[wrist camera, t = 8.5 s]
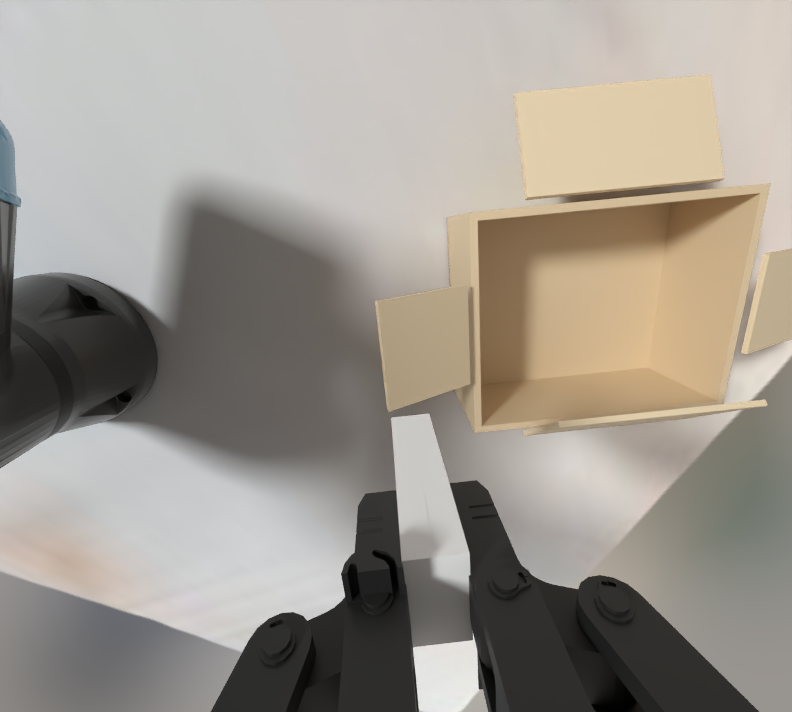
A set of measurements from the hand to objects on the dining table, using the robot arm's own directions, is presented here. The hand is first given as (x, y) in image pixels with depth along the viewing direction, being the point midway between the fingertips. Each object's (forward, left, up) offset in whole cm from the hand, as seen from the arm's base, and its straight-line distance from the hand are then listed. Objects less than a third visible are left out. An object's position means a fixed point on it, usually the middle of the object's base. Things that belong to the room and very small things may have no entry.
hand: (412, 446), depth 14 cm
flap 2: (+17, +13, -16) cm, 27 cm away
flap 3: (+17, -7, -12) cm, 22 cm away
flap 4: (+32, 0, -16) cm, 36 cm away
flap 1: (+2, 0, -13) cm, 13 cm away
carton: (+17, 0, -24) cm, 30 cm away
